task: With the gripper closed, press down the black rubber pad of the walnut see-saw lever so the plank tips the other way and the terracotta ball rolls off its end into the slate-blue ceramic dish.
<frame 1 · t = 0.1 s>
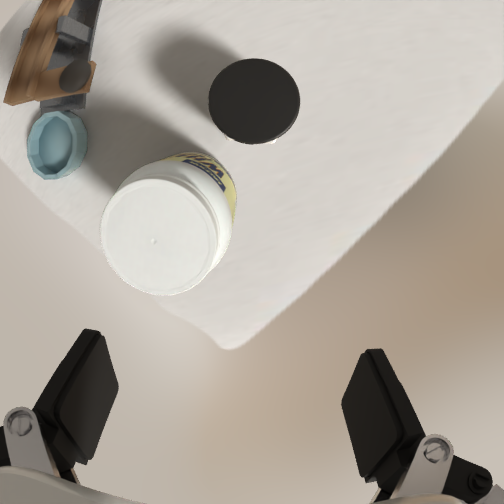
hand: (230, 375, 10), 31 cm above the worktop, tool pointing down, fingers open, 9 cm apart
supplement tub: (192, 195, 39), on the worktop
lever: (64, 22, 21), point 8 cm above the worktop, hinge at -15.0°, touching ball
dish: (61, 143, 35), on the worktop
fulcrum: (71, 41, 28), on the worktop
jar: (252, 110, 34), on the worktop
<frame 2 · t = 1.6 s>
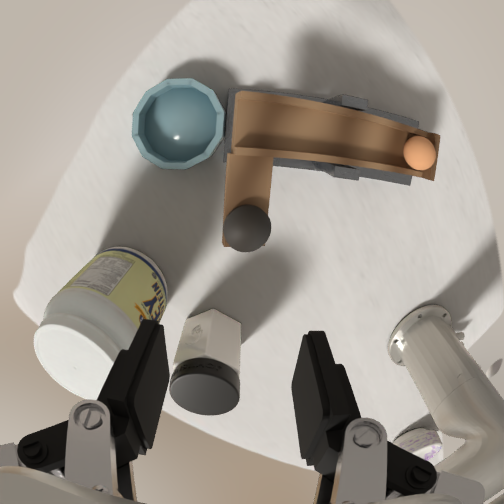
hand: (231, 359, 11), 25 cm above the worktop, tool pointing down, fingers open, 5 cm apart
supplement tub: (129, 283, 38), on the worktop
ball: (419, 153, 25), point 7 cm above the worktop, tilted 17°, touching lever
lever: (346, 181, 25), point 8 cm above the worktop, hinge at -15.0°, touching ball
dish: (182, 123, 30), on the worktop
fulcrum: (328, 135, 31), on the worktop
jar: (213, 332, 42), on the worktop
paper bowls: (408, 437, 58), on the worktop
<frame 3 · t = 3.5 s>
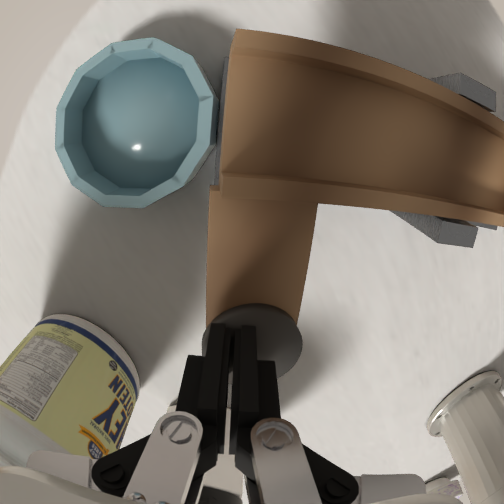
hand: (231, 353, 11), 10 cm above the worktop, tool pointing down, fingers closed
supplement tub: (88, 358, 24), on the worktop
lever: (453, 250, 11), point 8 cm above the worktop, hinge at -9.0°, touching ball, gripper
dish: (142, 122, 17), on the worktop
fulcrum: (396, 147, 17), on the worktop
jar: (206, 420, 27), on the worktop
paper bowls: (426, 485, 43), on the worktop
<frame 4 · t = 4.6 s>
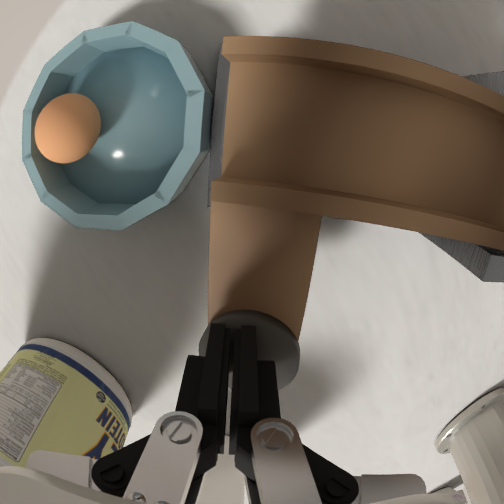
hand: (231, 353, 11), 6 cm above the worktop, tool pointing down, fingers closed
supplement tub: (76, 382, 22), on the worktop
ball: (67, 128, 11), point 3 cm above the worktop, tilted 158°, touching dish
lever: (491, 287, 8), point 8 cm above the worktop, hinge at 10.5°, touching gripper
dish: (122, 124, 14), on the worktop
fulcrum: (422, 155, 14), on the worktop
jar: (205, 446, 24), on the worktop
paper bowls: (430, 495, 40), on the worktop
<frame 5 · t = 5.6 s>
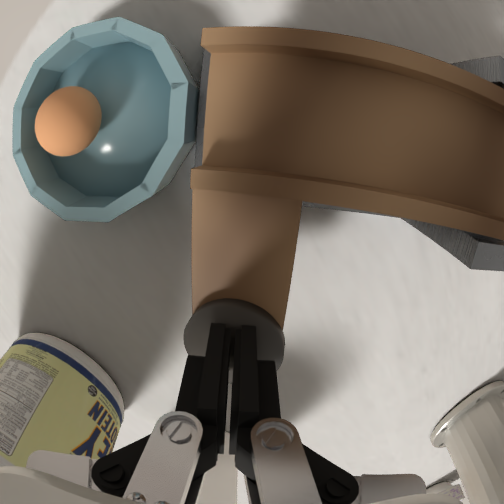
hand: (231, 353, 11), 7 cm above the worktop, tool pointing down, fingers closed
supplement tub: (69, 377, 21), on the worktop
ball: (67, 120, 11), point 3 cm above the worktop, tilted 177°, touching dish
lever: (479, 275, 8), point 8 cm above the worktop, hinge at 10.6°
dish: (110, 118, 13), on the worktop
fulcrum: (410, 144, 14), on the worktop
jar: (198, 440, 25), on the worktop
paper bowls: (427, 490, 41), on the worktop
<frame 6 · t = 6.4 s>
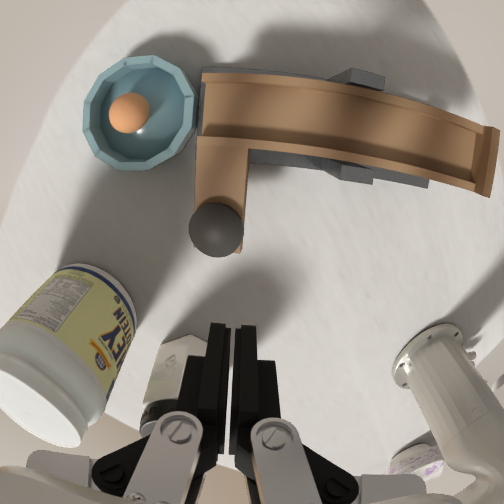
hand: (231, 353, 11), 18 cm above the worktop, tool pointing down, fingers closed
supplement tub: (94, 304, 31), on the worktop
ball: (129, 112, 21), point 3 cm above the worktop, tilted 157°, touching dish
lever: (349, 184, 18), point 8 cm above the worktop, hinge at 10.6°
dish: (145, 113, 23), on the worktop
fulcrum: (329, 125, 24), on the worktop
jar: (192, 359, 35), on the worktop
paper bowls: (408, 452, 53), on the worktop
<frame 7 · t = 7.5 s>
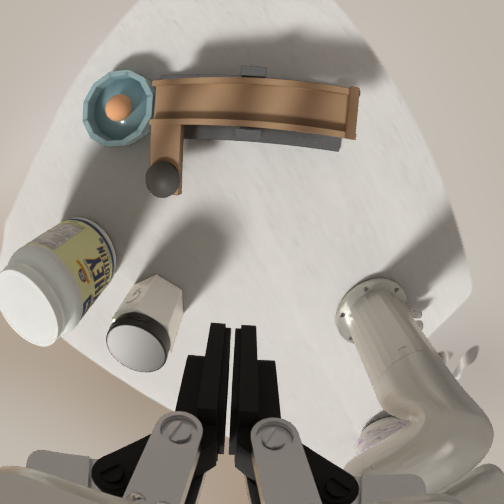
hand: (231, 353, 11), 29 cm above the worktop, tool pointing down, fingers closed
supplement tub: (86, 251, 41), on the worktop
ball: (118, 107, 30), point 3 cm above the worktop, tilted 129°, touching dish
lever: (243, 141, 28), point 8 cm above the worktop, hinge at 10.6°
dish: (124, 108, 33), on the worktop
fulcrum: (250, 108, 33), on the worktop
jar: (158, 298, 44), on the worktop
paper bowls: (379, 426, 60), on the worktop
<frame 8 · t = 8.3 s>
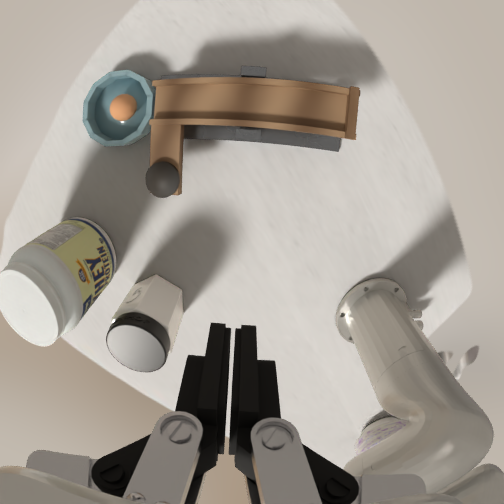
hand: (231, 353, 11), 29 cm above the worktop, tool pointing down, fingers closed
supplement tub: (86, 251, 41), on the worktop
ball: (123, 107, 30), point 3 cm above the worktop, tilted 109°, touching dish
lever: (243, 141, 28), point 8 cm above the worktop, hinge at 10.6°
dish: (124, 108, 33), on the worktop
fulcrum: (250, 108, 33), on the worktop
jar: (158, 298, 44), on the worktop
paper bowls: (379, 426, 60), on the worktop
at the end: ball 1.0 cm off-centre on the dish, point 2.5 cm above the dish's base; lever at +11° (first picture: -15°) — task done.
